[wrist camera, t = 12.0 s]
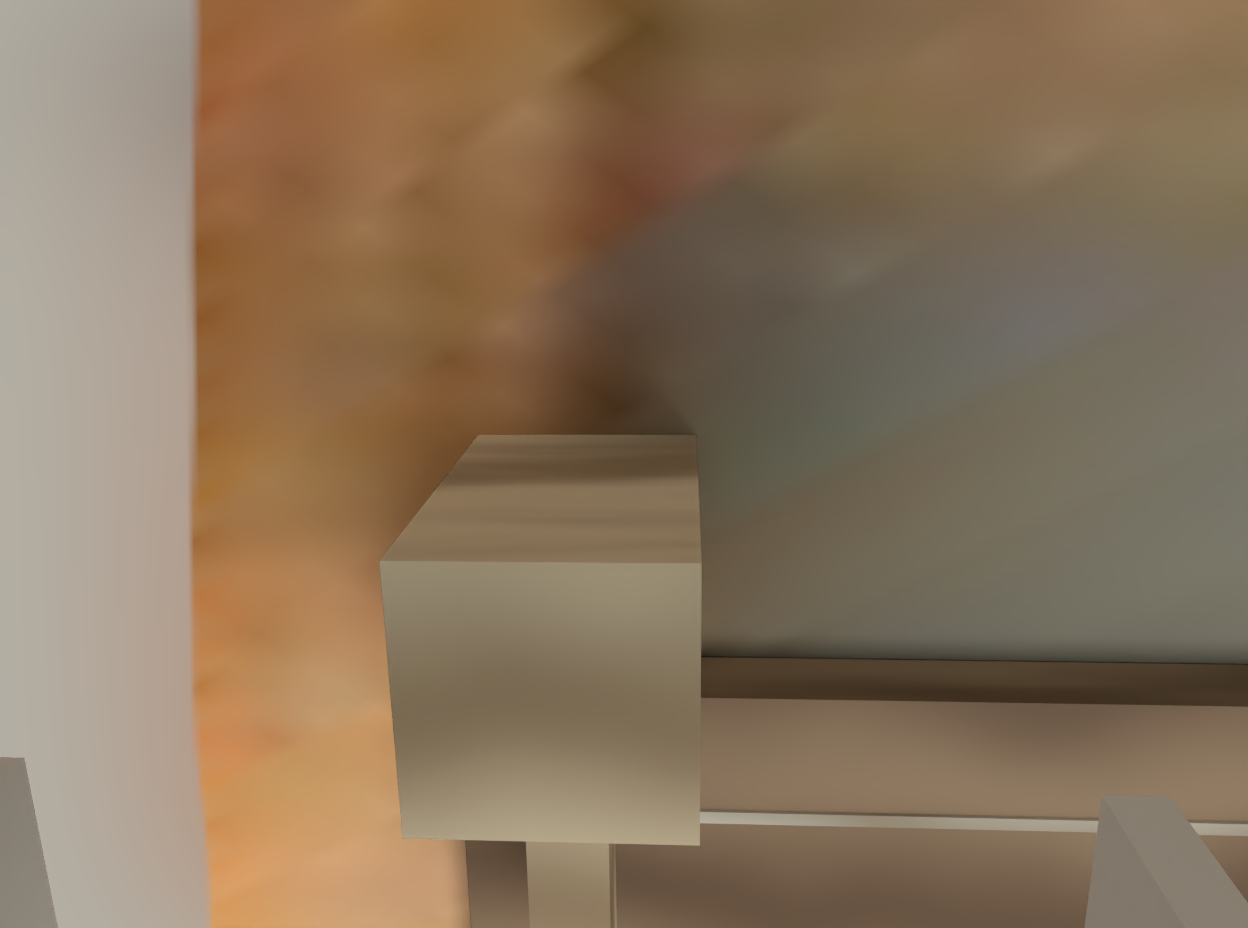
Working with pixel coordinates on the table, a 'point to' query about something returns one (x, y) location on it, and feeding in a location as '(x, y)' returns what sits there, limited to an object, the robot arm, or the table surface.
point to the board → (918, 793)
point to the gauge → (552, 658)
